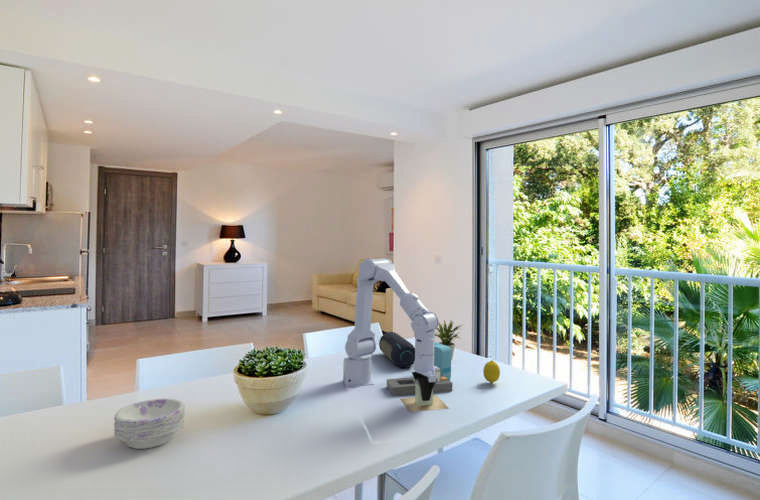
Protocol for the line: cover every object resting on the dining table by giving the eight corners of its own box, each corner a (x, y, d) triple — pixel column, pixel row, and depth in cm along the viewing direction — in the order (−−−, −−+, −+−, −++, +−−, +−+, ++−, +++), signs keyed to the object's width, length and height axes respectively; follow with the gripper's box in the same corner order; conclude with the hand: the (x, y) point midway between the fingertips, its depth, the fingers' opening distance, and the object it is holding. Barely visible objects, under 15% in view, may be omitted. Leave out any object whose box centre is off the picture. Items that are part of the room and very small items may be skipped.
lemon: (498, 381, 151) (498, 358, 151) (501, 386, 146) (501, 363, 146) (482, 380, 152) (482, 357, 152) (484, 385, 146) (484, 362, 146)
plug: (418, 406, 128) (418, 382, 127) (415, 402, 131) (415, 379, 130) (432, 404, 129) (433, 381, 128) (429, 400, 132) (429, 378, 131)
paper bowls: (167, 421, 117) (167, 392, 116) (196, 438, 107) (196, 407, 107) (104, 441, 105) (104, 409, 105) (129, 463, 95) (129, 427, 95)
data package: (451, 381, 151) (451, 347, 151) (441, 383, 149) (442, 348, 148) (427, 372, 161) (428, 340, 161) (418, 374, 158) (419, 341, 158)
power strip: (392, 396, 136) (392, 385, 136) (386, 388, 143) (386, 377, 143) (452, 392, 140) (452, 381, 140) (443, 383, 148) (443, 373, 148)
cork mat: (409, 413, 123) (409, 411, 123) (400, 400, 133) (400, 398, 133) (449, 409, 126) (449, 408, 126) (436, 397, 136) (436, 395, 136)
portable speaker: (376, 353, 186) (376, 330, 185) (398, 352, 189) (398, 329, 188) (394, 371, 162) (394, 344, 161) (419, 369, 164) (419, 343, 164)
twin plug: (427, 391, 141) (427, 370, 141) (424, 388, 144) (424, 367, 144) (440, 390, 142) (440, 369, 142) (436, 387, 145) (437, 366, 145)
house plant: (464, 365, 169) (464, 324, 168) (428, 363, 172) (429, 322, 171) (464, 356, 183) (465, 317, 182) (431, 353, 186) (432, 316, 185)
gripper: (446, 359, 123) (445, 406, 123) (428, 346, 137) (428, 388, 138) (422, 360, 121) (422, 408, 122) (407, 347, 135) (407, 390, 136)
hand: (424, 398), depth 130 cm, fingers closed on plug, 3 cm apart
